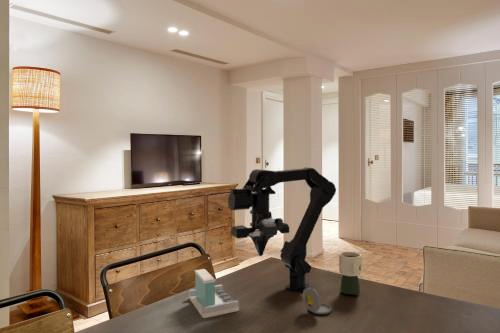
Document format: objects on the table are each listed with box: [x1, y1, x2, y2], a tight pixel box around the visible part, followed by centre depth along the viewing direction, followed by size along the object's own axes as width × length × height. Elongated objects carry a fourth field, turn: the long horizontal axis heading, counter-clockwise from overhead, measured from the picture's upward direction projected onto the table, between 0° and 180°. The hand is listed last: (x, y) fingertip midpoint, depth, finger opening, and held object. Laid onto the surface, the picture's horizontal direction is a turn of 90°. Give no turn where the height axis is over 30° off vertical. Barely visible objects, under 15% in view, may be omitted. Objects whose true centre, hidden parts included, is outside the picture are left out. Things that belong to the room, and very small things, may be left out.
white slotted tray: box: [188, 284, 240, 319], centre depth 112 cm, size 11×15×3 cm
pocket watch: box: [302, 279, 332, 315], centre depth 106 cm, size 8×8×10 cm
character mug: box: [338, 250, 362, 296], centre depth 119 cm, size 11×7×13 cm, turn 179°
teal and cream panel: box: [194, 268, 216, 307], centre depth 111 cm, size 3×10×8 cm, turn 24°
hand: (260, 255), depth 118 cm, fingers closed
